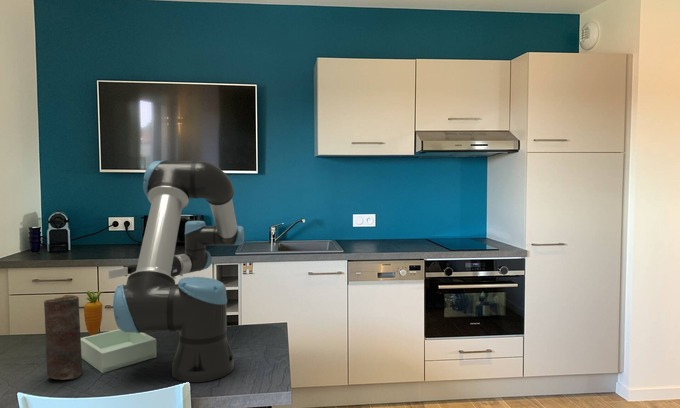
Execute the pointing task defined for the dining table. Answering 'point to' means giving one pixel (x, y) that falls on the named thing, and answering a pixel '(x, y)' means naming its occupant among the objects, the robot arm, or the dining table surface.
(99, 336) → the bin
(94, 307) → the carrot
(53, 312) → the candle
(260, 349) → the dining table surface
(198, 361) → the robot arm
